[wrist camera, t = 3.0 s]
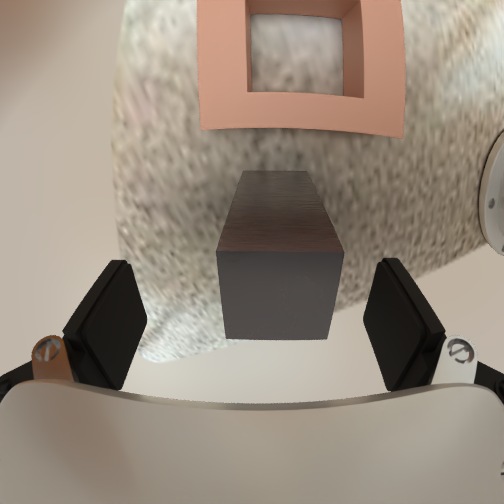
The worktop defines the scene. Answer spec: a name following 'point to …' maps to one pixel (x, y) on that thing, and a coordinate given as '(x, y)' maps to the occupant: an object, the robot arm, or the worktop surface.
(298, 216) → the square peg
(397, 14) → the bore block
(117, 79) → the worktop surface
